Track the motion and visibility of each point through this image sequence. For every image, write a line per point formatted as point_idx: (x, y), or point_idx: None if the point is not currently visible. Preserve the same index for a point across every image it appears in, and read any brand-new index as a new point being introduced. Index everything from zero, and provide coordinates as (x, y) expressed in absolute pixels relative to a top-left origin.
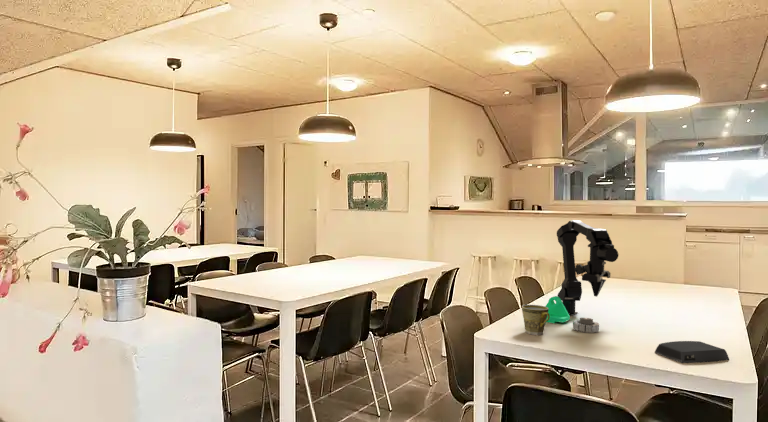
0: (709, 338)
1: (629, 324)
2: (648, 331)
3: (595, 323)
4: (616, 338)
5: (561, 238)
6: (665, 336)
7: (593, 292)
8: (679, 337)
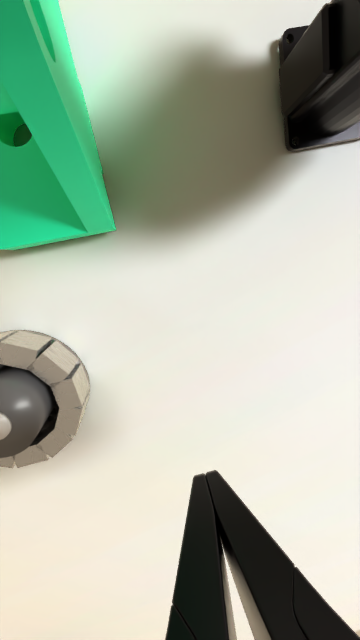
0: None
1: (308, 421)
2: (247, 507)
3: (44, 443)
4: (25, 519)
5: None
6: None
7: (187, 522)
8: None
